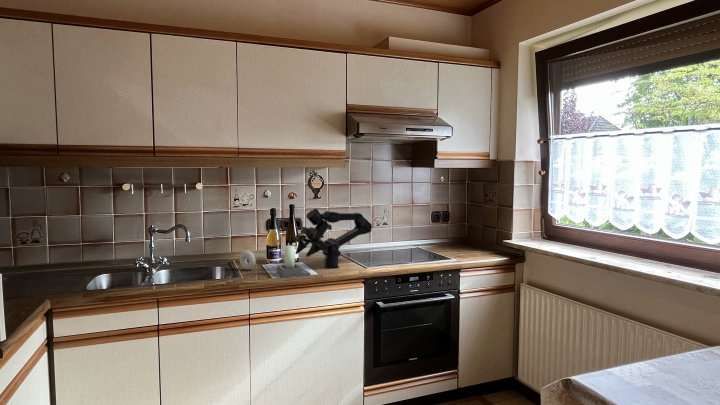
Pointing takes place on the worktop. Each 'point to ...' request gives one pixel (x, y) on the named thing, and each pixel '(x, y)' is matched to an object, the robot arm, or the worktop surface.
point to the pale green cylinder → (289, 256)
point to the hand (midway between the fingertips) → (301, 254)
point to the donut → (244, 263)
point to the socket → (291, 271)
